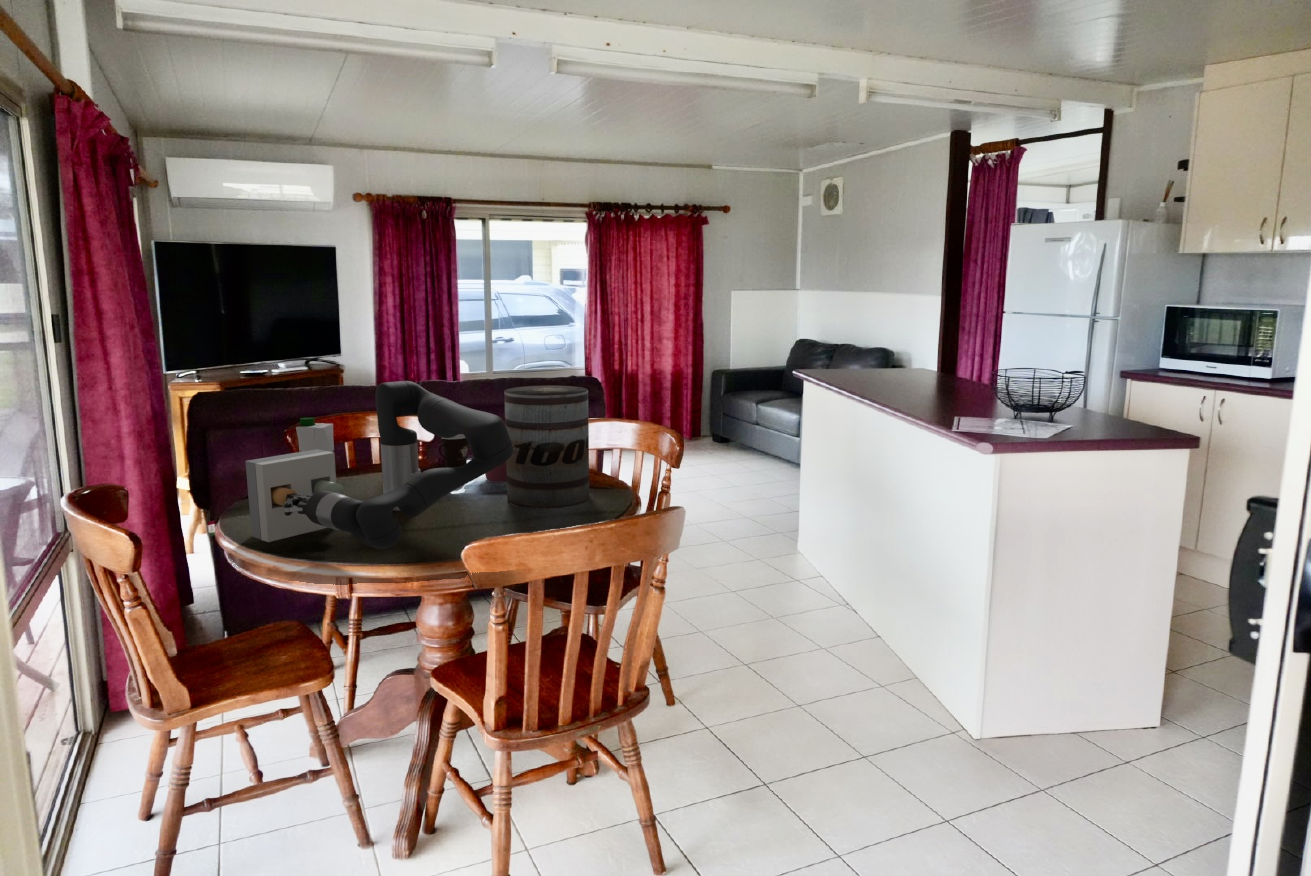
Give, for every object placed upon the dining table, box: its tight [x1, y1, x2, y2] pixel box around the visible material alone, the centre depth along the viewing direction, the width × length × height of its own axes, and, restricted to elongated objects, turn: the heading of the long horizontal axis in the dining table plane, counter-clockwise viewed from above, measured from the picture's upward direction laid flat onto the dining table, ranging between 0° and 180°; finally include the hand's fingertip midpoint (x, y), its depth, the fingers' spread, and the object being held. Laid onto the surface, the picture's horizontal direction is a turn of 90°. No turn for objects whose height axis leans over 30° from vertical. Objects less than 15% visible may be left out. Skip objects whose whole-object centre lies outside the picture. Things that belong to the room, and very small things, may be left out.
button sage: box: [314, 480, 345, 495], centre depth 201 cm, size 6×4×4 cm, turn 53°
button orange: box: [270, 486, 297, 506], centre depth 195 cm, size 6×4×4 cm, turn 53°
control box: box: [245, 449, 337, 543], centre depth 201 cm, size 7×18×18 cm, turn 143°
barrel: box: [503, 385, 590, 510], centre depth 232 cm, size 22×22×30 cm
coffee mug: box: [438, 433, 469, 468], centre depth 273 cm, size 12×9×10 cm
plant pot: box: [484, 462, 507, 483], centre depth 257 cm, size 14×14×13 cm
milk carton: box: [295, 416, 335, 454], centre depth 247 cm, size 9×9×20 cm
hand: (289, 498), depth 193 cm, fingers closed
